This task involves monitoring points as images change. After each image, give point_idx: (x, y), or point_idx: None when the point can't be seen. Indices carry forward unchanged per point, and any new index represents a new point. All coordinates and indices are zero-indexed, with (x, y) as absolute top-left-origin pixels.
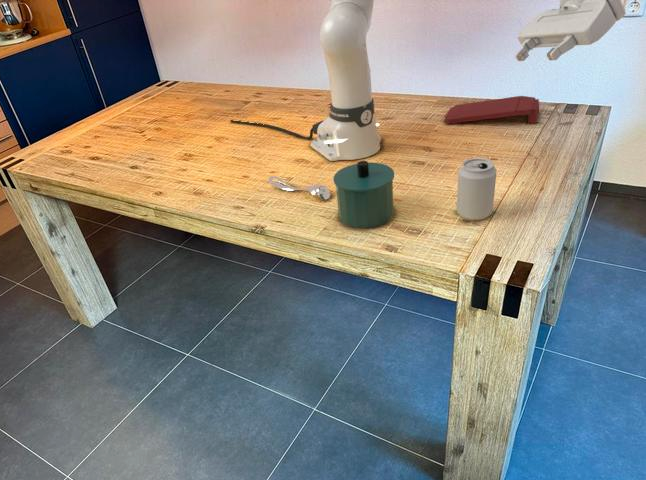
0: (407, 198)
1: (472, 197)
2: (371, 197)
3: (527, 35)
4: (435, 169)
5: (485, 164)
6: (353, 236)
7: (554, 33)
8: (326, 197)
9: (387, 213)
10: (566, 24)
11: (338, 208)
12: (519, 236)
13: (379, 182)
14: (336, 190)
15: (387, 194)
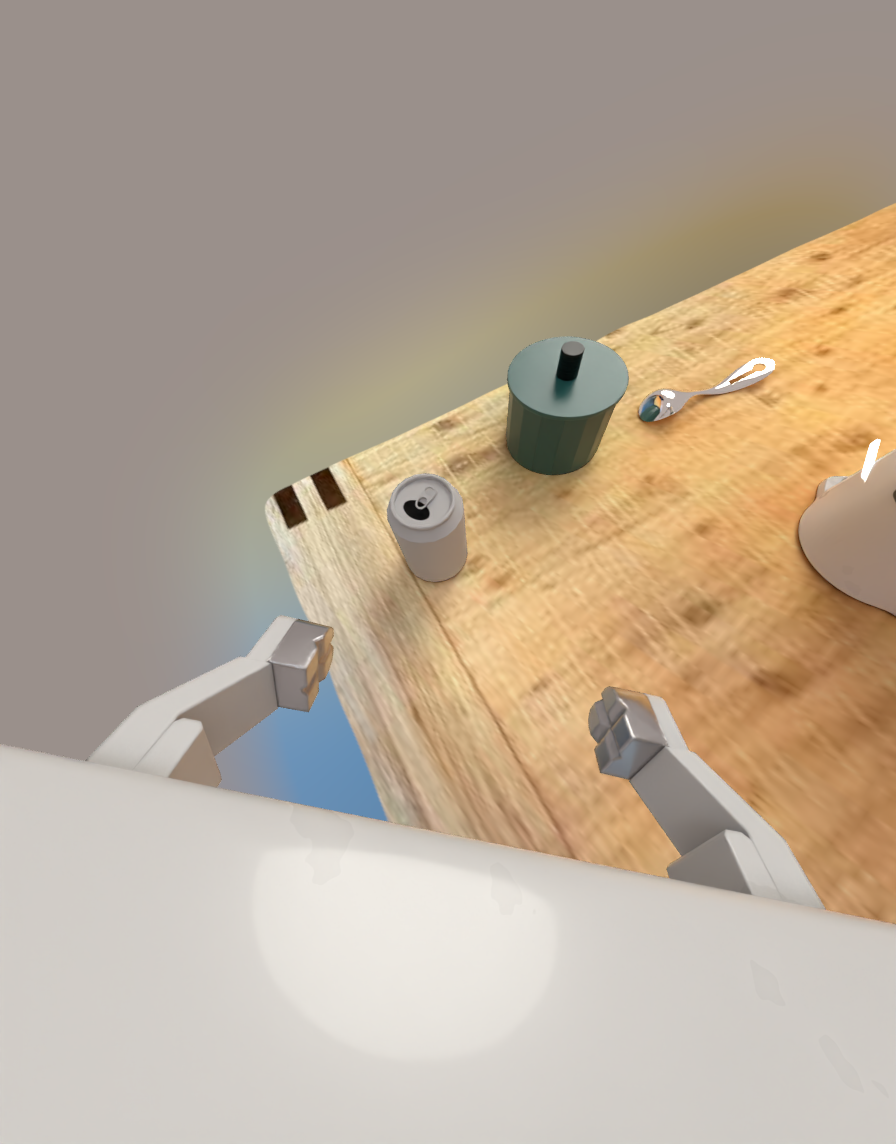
0: (557, 509)
1: (412, 508)
2: None
3: (841, 920)
4: (642, 619)
5: (438, 541)
6: (505, 404)
7: (346, 814)
8: (642, 413)
9: (509, 439)
10: (162, 1008)
11: None
12: (341, 561)
13: (521, 380)
14: None
15: (513, 413)
